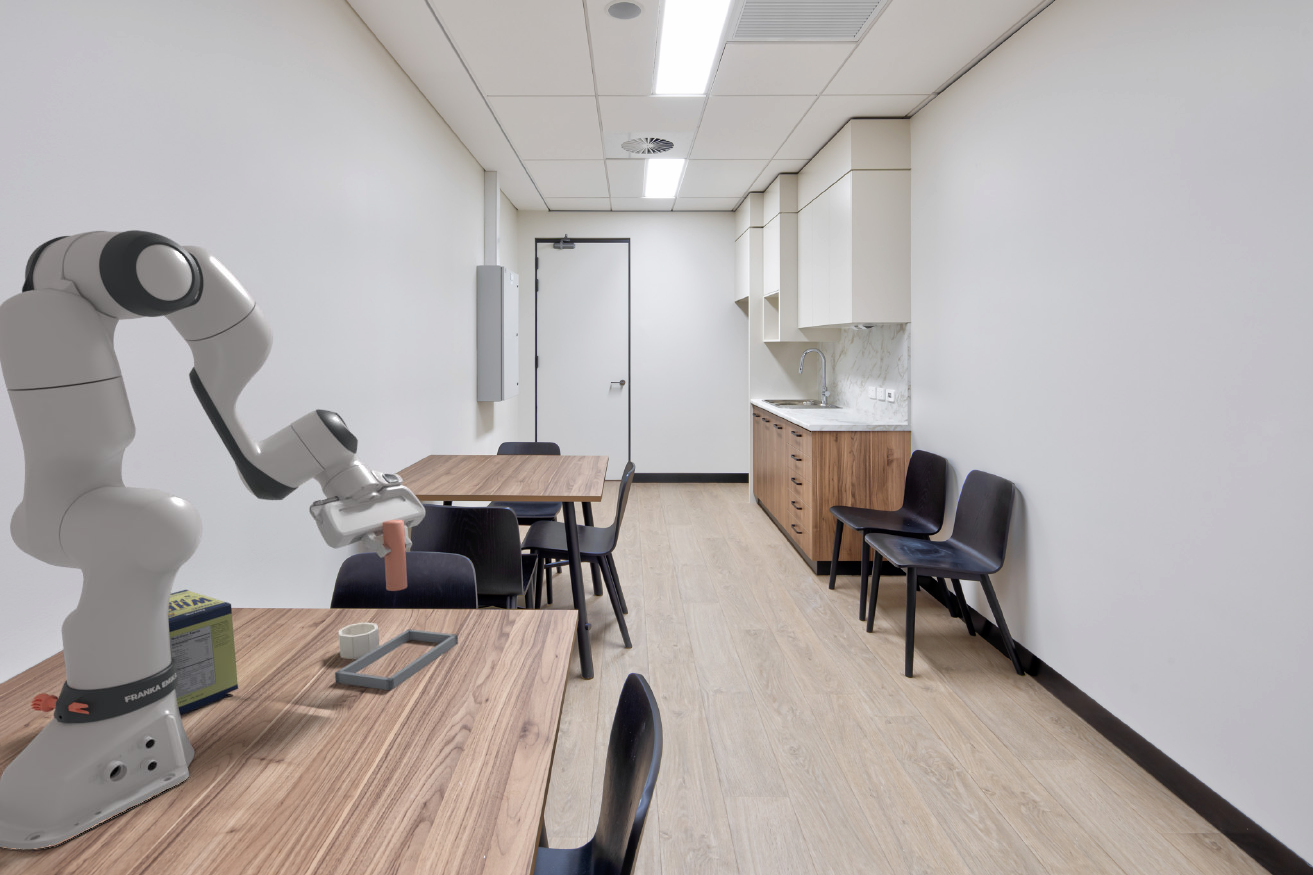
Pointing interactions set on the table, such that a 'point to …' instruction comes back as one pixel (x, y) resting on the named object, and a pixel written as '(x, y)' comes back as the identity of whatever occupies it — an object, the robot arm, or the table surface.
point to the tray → (350, 671)
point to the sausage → (395, 555)
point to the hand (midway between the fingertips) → (397, 551)
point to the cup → (358, 640)
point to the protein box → (201, 649)
